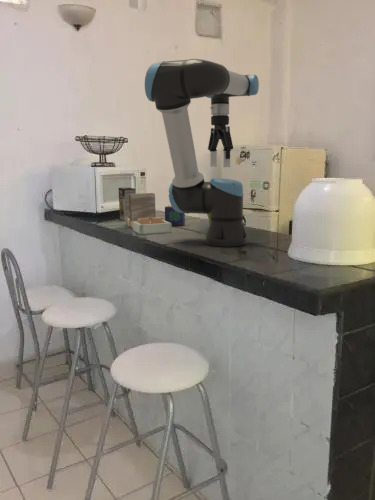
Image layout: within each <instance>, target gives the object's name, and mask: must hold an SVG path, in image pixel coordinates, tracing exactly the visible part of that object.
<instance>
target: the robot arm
mask: <svg viewBox="0 0 375 500" xmlns="http://www.w3.org/2000/svg"><path fill="white" fill-rule="evenodd" d="M259 85H260V84H259V78H258V76H257V74H242V73H238V72H234V71H231V70H229V69H228V68H227V67H225V66H224V65H223V64H221V63H216V62H214V61H210V60H206V59H199V58H189V59H180V60H179V59H178V60H177V59H176V60H167V61H160V62H156V63H155V62H154V63H152V64H151V65H150V66H149V67H148V68H147V70H146V73H145V77H144V93H145V95H146V98H147V99H148V101H150V102H152V103H155V104H154V105H155V107H156V108H155V109H156V110H157V111H159V112H160V113H161V115H162V119H163V125H164V130H165V134H166V138H167V139H166V140H167V143H168V144H167V145H168V149H169V153H170V159H171V163H172V168H173V169H172V170H173V172H174V177H173V178H172V180H171V182H172V183H170V185H169V187H168V200H169V204H170V205H171V206H172V208H173V209H174V210H175V211H177V212H180V213H185V214H203V215H207V214H210V215H211V222H210V226H209V225H208V228H207V229H208V230H207V233H206V236H205V244H206V245H209V246H212V247H222V248H223V247H226V248H229V247H231V248H232V247H241V246H245V245H248V235H247V232H246V228H245V225H244V223H243V222H244V220H243V219H244V217H243V216H244V215H243V213H244V212H243V211H244V187H243V183H242V182H241V181H238V180H234V179H230V178H222V177H221V178H220V177H212V178H210V180H209V181H205V177H204V174H203V173H202V172H199V167H198V166H199V165H198V161H197V156H196V149H195V145H194V144H195V143H194V139H193V133H192V132H193V131H192V128H191V122H190V121H191V120H190V116H189V109H188V107H189V106H190V104H191V101H192V99H199V98H200V99H201V98H207V99H208V98H209V99H210V105H211V106H210V107H209V109H210V111H211V112H210V114H211V116H210V118H211V119H210V124H211V126H213V127H214V128H213V127H211V128H210V135H209V139H208V146H207V150H208V151H209V152H210V153H209V155H210V156H209V159H210V160H209V161H210V162H209V164H210V165H209V166H210V167H213V168H214V167H217V162H218V159H217V158H218V157H217V156H218V149H217V148H218V146H219V145H218V144H219V142H220V141H221V143H222V146H223V149H222V151H223V161H222V162H223V164H222V165H223V168H231V151H232V150H234V145H233V140H232V135H231V129H230V126H229V124H230V116H229V115H230V98H231V97H232V98H233V97H234V98H235V97H250V96H256V95H258V92H259V87H260V86H259Z"/></svg>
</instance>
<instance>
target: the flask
mask: <svg viewBox="0 0 375 500" xmlns="http://www.w3.org/2000/svg"><path fill="white" fill-rule="evenodd" d="M185 214H186V213H180V212H177V211H175V210H174V209H173V208H172V206H171V204H170V205H168V206H166V205H165V206H164V220H165V221H167V222H170V223H172V227H184V226H186V217H185V216H186V215H185Z"/></svg>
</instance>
